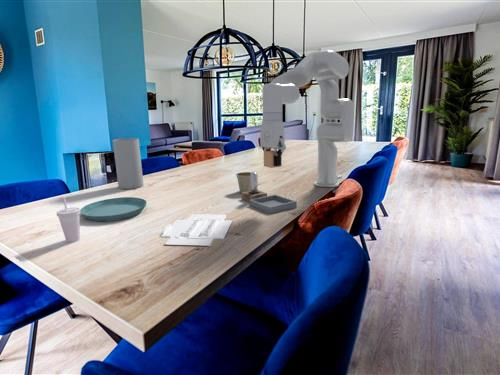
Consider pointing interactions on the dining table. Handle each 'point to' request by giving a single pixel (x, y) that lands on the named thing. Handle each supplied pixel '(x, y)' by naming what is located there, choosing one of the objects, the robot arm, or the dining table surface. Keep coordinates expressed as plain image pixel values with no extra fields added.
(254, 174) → the steel pin
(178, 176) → the dining table surface
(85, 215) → the teal plate
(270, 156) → the orange block with knob
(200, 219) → the white flat piece
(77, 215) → the smoothie
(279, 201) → the grey square tray
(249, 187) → the flower pot
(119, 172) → the cylinder vase
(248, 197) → the walnut bore block
